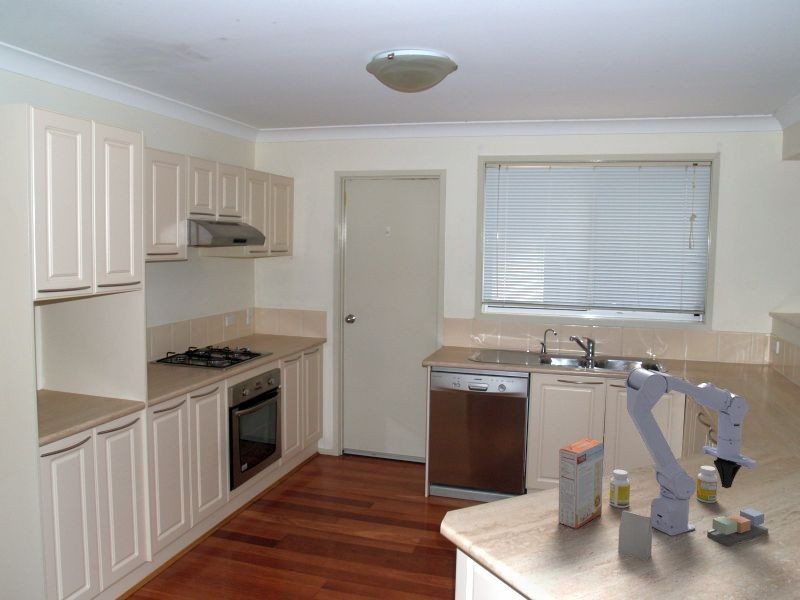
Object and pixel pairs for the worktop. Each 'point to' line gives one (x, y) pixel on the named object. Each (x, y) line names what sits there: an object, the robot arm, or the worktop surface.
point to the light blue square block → (753, 516)
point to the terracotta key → (741, 523)
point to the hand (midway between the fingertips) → (726, 487)
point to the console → (737, 535)
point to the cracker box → (580, 482)
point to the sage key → (724, 525)
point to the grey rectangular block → (635, 535)
